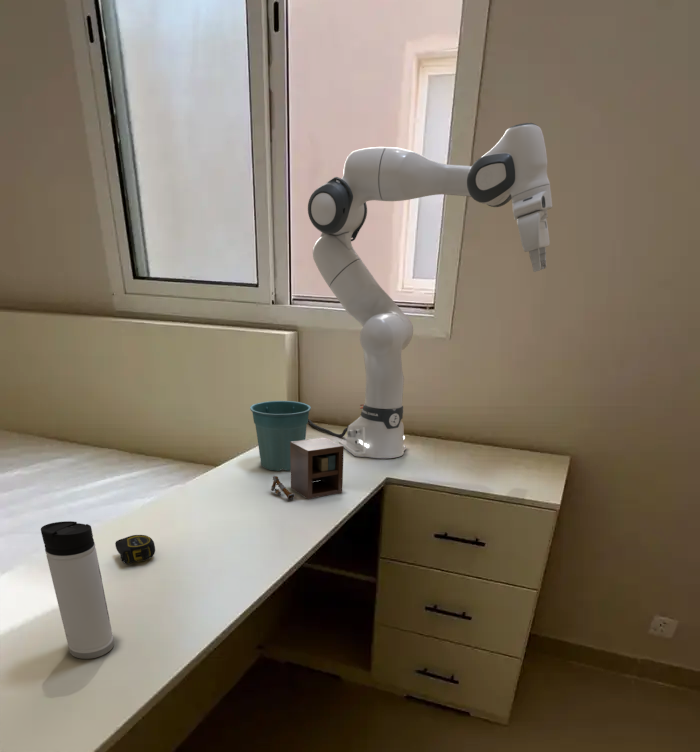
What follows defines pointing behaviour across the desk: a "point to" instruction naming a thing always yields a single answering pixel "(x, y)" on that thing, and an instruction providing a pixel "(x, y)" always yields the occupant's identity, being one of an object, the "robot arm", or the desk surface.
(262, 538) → the desk surface
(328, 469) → the shelf
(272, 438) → the flower pot
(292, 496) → the hinged wooden rods
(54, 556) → the travel mug
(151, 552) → the tape measure
